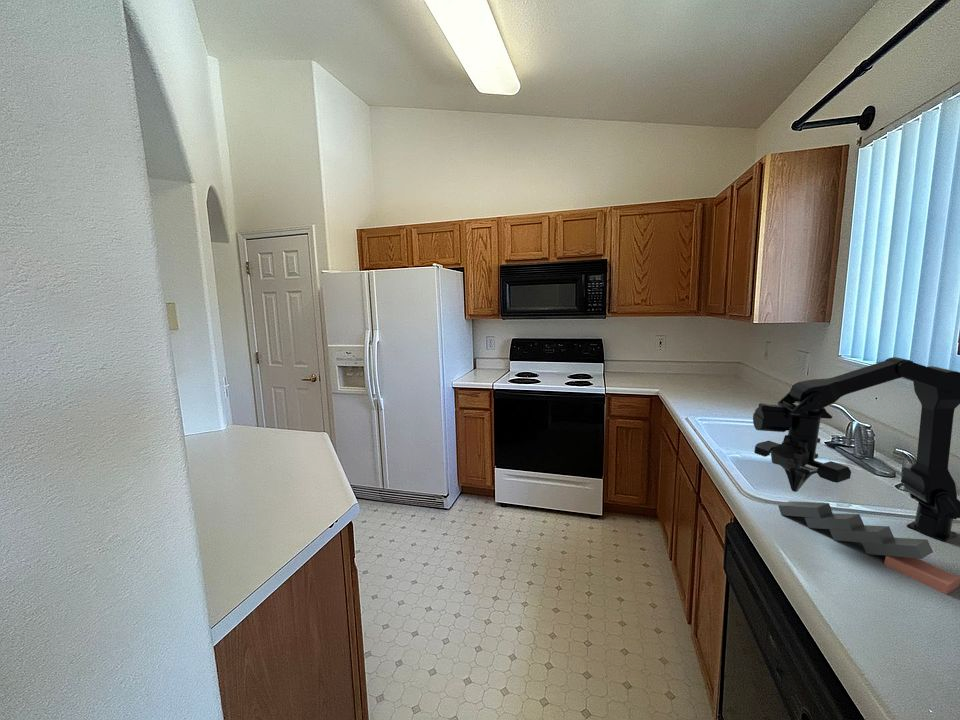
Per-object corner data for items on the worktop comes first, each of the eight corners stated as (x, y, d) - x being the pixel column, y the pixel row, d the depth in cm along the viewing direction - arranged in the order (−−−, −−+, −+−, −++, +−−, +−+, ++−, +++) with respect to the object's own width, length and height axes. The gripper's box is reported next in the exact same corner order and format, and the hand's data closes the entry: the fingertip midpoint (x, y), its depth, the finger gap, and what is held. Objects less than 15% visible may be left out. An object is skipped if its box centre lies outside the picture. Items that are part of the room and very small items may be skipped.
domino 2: (804, 517, 97) (847, 519, 89) (816, 512, 99) (859, 514, 91) (808, 527, 96) (851, 530, 88) (820, 523, 98) (864, 525, 90)
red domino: (885, 556, 83) (948, 585, 75) (898, 549, 85) (960, 577, 77) (883, 566, 83) (945, 596, 75) (896, 559, 85) (957, 588, 77)
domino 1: (778, 505, 102) (816, 507, 94) (790, 501, 104) (829, 503, 96) (781, 514, 102) (820, 518, 93) (793, 510, 103) (832, 513, 95)
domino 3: (829, 529, 92) (877, 532, 84) (841, 524, 94) (889, 526, 86) (833, 540, 91) (882, 544, 83) (845, 534, 93) (894, 537, 85)
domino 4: (861, 542, 87) (916, 545, 79) (873, 536, 89) (927, 539, 81) (866, 553, 86) (921, 558, 78) (878, 547, 88) (933, 552, 80)
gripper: (744, 425, 103) (737, 481, 106) (828, 452, 86) (818, 517, 89) (771, 420, 107) (764, 473, 110) (857, 444, 90) (846, 506, 93)
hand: (794, 491), depth 101 cm, fingers closed
